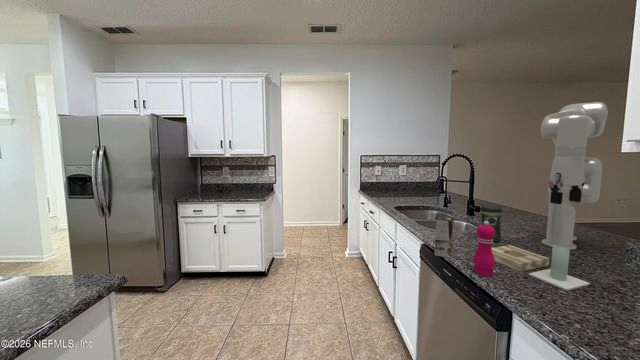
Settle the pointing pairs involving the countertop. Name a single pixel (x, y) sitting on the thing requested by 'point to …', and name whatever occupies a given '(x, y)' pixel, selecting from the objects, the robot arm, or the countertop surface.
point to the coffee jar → (492, 218)
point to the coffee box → (444, 236)
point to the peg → (559, 263)
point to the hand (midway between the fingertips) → (565, 202)
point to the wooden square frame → (518, 258)
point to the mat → (566, 285)
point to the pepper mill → (484, 250)
